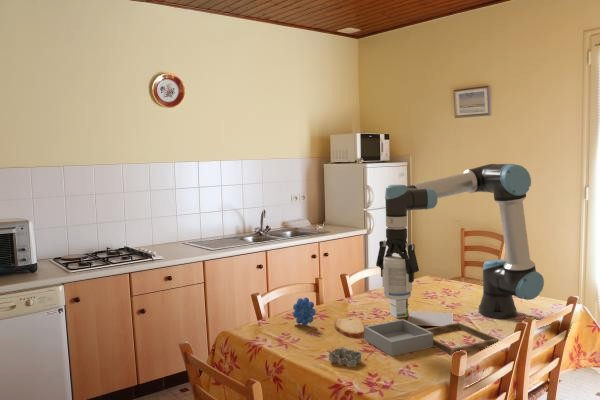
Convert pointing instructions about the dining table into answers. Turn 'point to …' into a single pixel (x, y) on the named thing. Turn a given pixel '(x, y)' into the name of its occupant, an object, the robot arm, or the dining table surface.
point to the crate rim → (471, 347)
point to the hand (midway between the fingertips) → (397, 288)
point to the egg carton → (345, 356)
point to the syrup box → (399, 308)
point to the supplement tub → (395, 278)
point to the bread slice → (350, 327)
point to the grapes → (304, 311)
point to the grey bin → (398, 337)
